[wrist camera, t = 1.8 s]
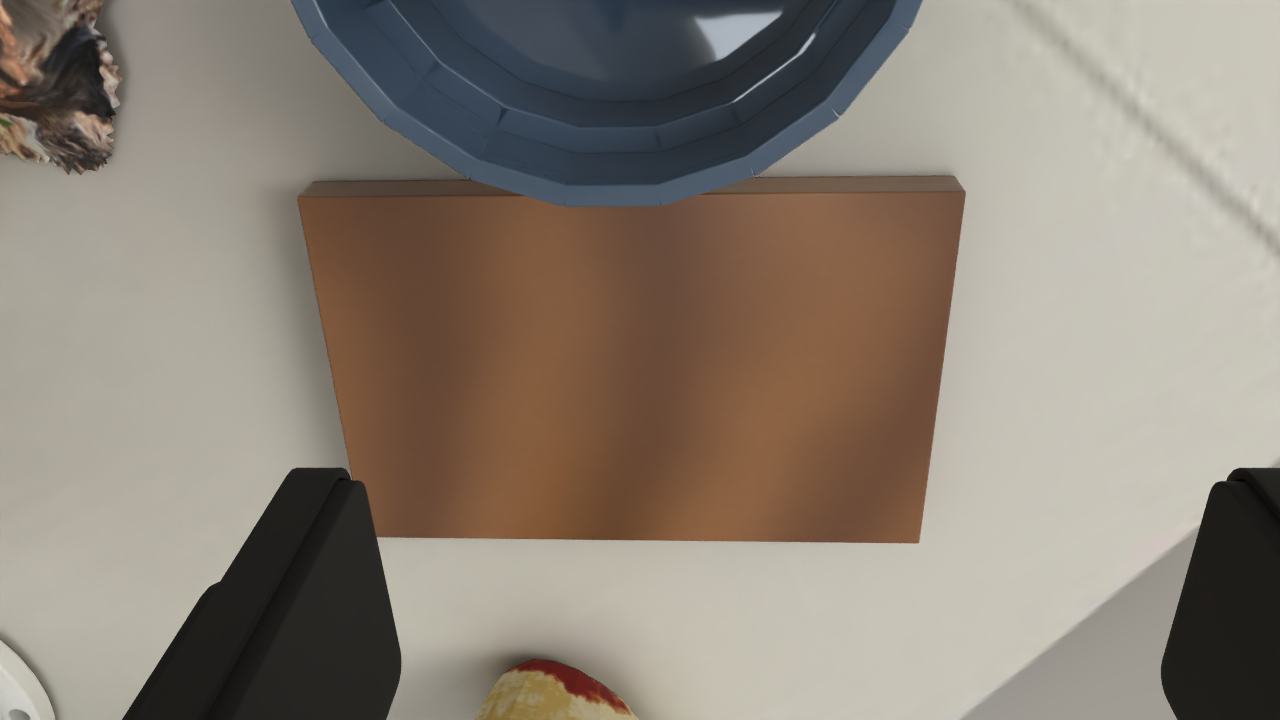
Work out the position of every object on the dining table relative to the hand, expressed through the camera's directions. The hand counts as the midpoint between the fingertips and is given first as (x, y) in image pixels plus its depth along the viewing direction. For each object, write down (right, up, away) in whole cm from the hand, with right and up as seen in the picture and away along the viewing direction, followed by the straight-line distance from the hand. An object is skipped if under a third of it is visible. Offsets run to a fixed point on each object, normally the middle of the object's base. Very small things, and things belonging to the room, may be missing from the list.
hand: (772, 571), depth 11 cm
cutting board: (-2, +2, +23) cm, 23 cm away
